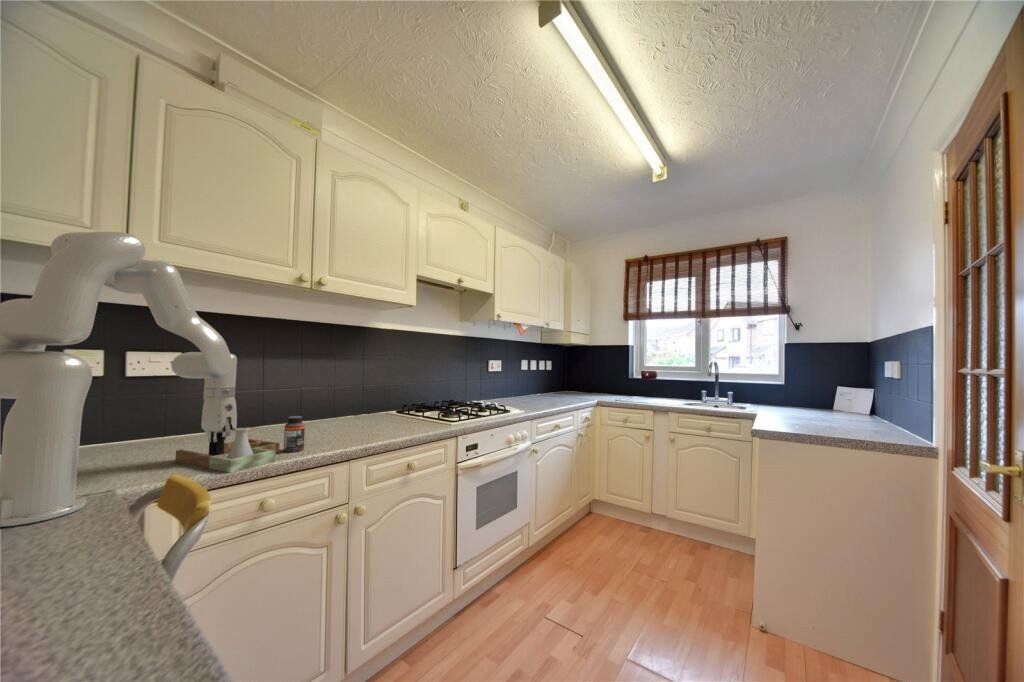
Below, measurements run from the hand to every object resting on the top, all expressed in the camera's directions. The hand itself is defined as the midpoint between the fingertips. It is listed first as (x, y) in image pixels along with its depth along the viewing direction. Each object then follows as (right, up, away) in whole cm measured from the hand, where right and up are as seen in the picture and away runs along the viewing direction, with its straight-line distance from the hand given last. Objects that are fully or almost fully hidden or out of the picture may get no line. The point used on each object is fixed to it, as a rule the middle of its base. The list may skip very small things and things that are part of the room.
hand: (216, 454), depth 112 cm
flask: (+9, -2, -3) cm, 10 cm away
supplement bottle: (+16, -3, +13) cm, 21 cm away
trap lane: (+6, -2, +1) cm, 6 cm away
